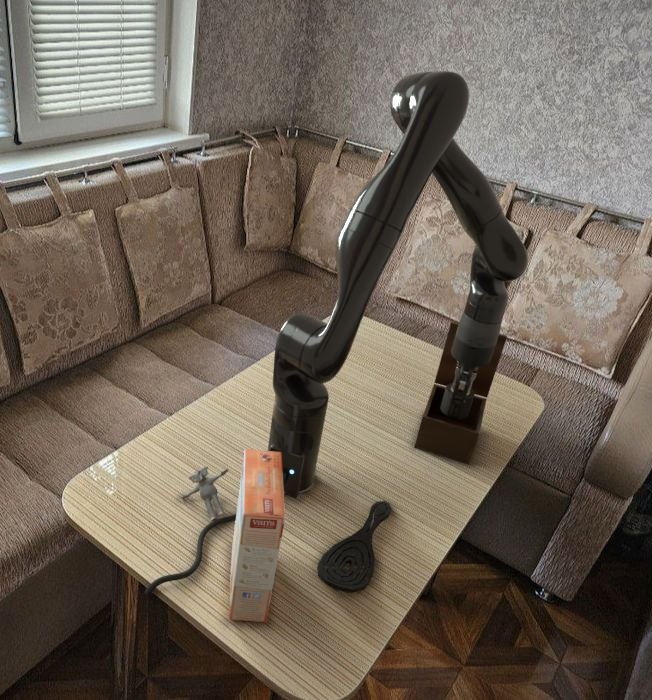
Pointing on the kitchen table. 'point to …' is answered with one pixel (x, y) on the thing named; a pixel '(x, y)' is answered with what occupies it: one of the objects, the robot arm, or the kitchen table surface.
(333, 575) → the hairbrush
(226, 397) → the kitchen table surface
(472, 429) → the box
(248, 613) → the cracker box
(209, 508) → the elephant figurine
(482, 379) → the lid
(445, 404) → the dark grey short cylinder
